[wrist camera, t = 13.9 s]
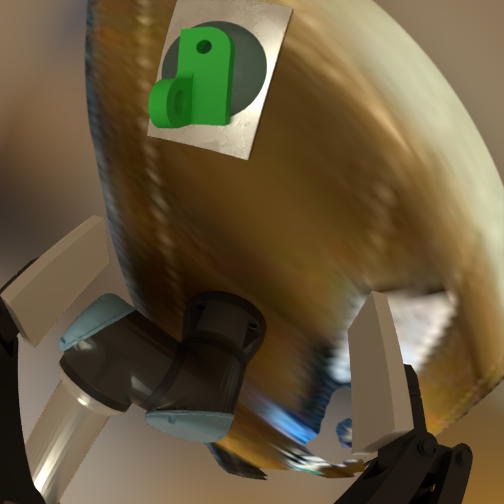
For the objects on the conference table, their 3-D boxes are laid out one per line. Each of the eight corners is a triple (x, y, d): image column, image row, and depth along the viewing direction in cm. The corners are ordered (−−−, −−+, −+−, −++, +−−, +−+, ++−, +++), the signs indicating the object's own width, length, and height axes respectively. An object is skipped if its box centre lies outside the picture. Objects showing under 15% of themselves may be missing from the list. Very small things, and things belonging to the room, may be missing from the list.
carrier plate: (249, 158, 32) (247, 160, 31) (151, 133, 33) (146, 135, 32) (293, 10, 21) (292, 7, 20) (182, -2, 21) (178, -5, 20)
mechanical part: (229, 124, 29) (205, 133, 23) (182, 122, 30) (148, 132, 23) (237, 29, 22) (213, 11, 16) (188, 32, 23) (153, 19, 17)
